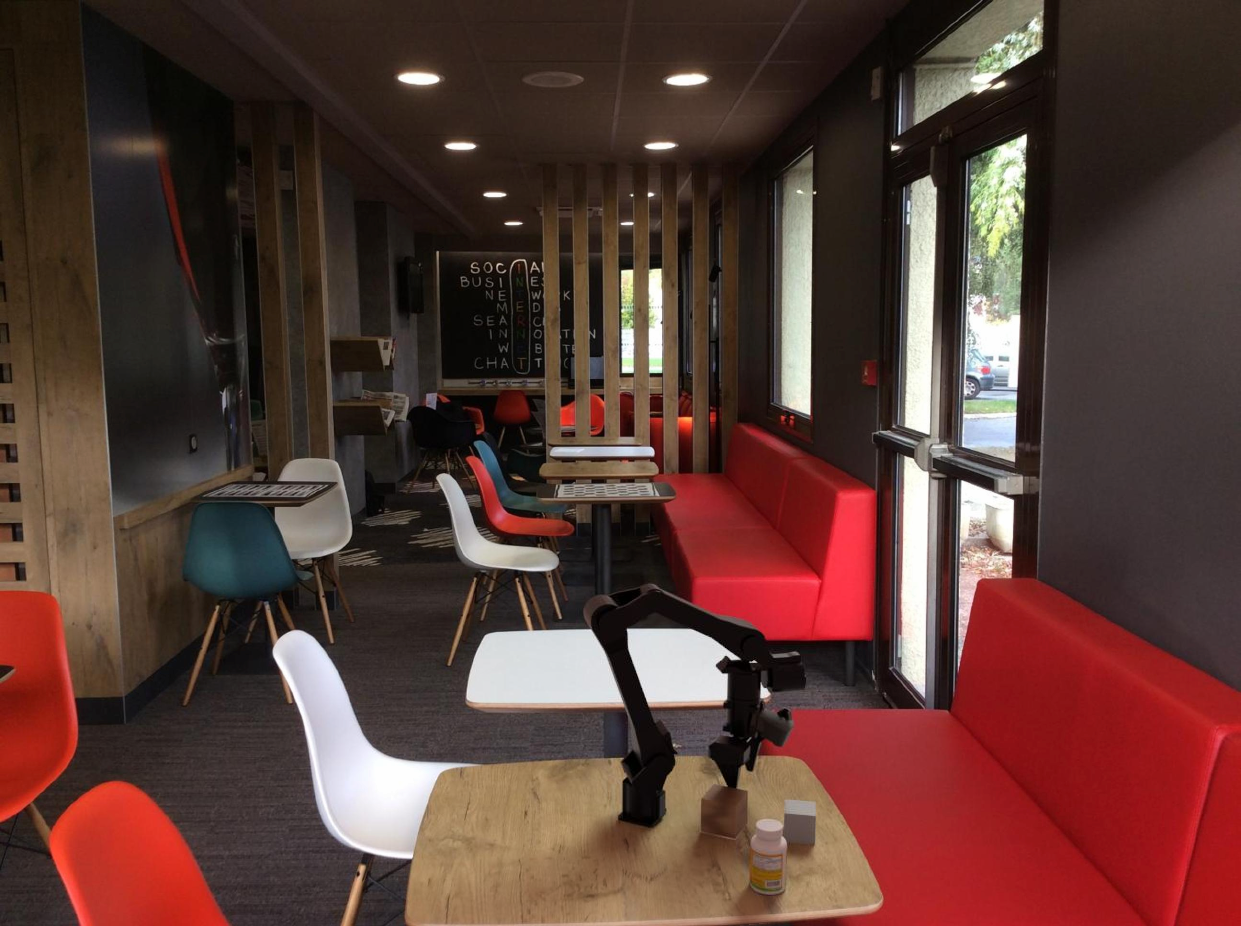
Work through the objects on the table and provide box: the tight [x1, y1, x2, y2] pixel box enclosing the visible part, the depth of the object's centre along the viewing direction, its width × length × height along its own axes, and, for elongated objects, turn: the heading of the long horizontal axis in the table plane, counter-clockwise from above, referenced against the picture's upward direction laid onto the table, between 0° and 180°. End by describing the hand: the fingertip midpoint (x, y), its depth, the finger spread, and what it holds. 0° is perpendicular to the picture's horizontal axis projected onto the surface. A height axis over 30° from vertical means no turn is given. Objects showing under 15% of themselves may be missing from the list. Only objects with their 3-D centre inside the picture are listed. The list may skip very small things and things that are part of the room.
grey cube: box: [783, 799, 817, 846], centre depth 170 cm, size 5×5×5 cm
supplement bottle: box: [749, 818, 788, 896], centre depth 155 cm, size 5×5×10 cm
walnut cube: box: [700, 783, 749, 841], centre depth 173 cm, size 6×6×6 cm
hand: (741, 781), depth 180 cm, fingers open, 9 cm apart
